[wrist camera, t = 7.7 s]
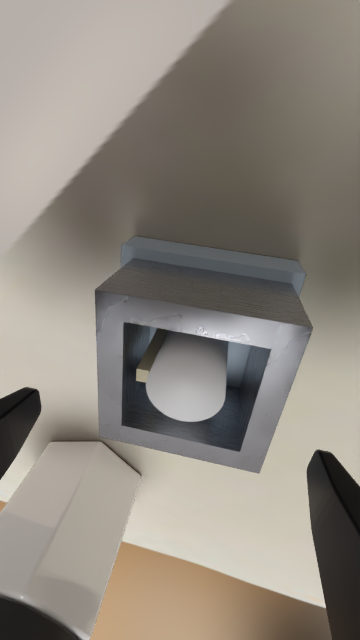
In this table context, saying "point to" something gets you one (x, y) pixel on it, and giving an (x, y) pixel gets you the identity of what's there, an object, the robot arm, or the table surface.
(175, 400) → the shaft block
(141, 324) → the collar
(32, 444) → the table surface
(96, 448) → the jar
